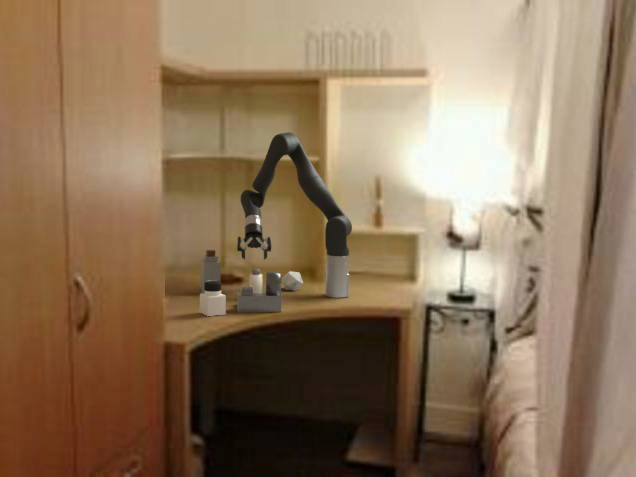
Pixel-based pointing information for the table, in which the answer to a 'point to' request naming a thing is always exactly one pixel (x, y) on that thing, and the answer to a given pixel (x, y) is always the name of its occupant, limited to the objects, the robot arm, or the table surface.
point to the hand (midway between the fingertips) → (254, 258)
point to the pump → (256, 281)
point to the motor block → (262, 296)
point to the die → (292, 281)
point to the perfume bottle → (210, 268)
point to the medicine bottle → (212, 299)
